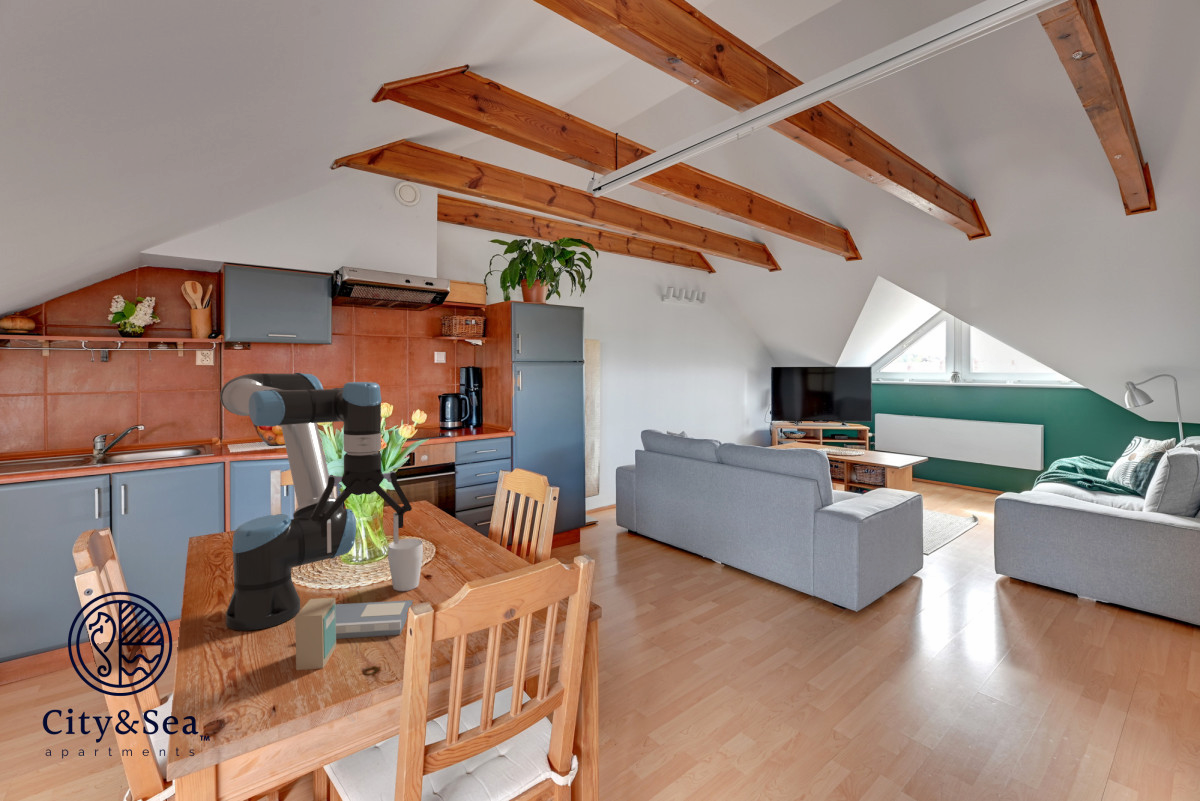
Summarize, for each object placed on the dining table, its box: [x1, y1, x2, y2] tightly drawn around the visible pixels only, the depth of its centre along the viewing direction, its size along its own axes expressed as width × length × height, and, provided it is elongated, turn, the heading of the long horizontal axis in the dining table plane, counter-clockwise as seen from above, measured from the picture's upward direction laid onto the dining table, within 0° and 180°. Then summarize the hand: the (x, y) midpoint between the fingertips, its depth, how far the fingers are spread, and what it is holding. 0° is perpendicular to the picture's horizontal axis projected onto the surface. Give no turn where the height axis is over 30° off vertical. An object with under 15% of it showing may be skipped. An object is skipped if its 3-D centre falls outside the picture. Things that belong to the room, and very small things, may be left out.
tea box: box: [294, 597, 337, 671], centre depth 109 cm, size 8×5×11 cm, turn 9°
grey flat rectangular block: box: [335, 599, 414, 640], centre depth 125 cm, size 20×15×3 cm
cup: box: [387, 538, 424, 592], centre depth 145 cm, size 9×9×12 cm
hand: (363, 546), depth 118 cm, fingers open, 13 cm apart
